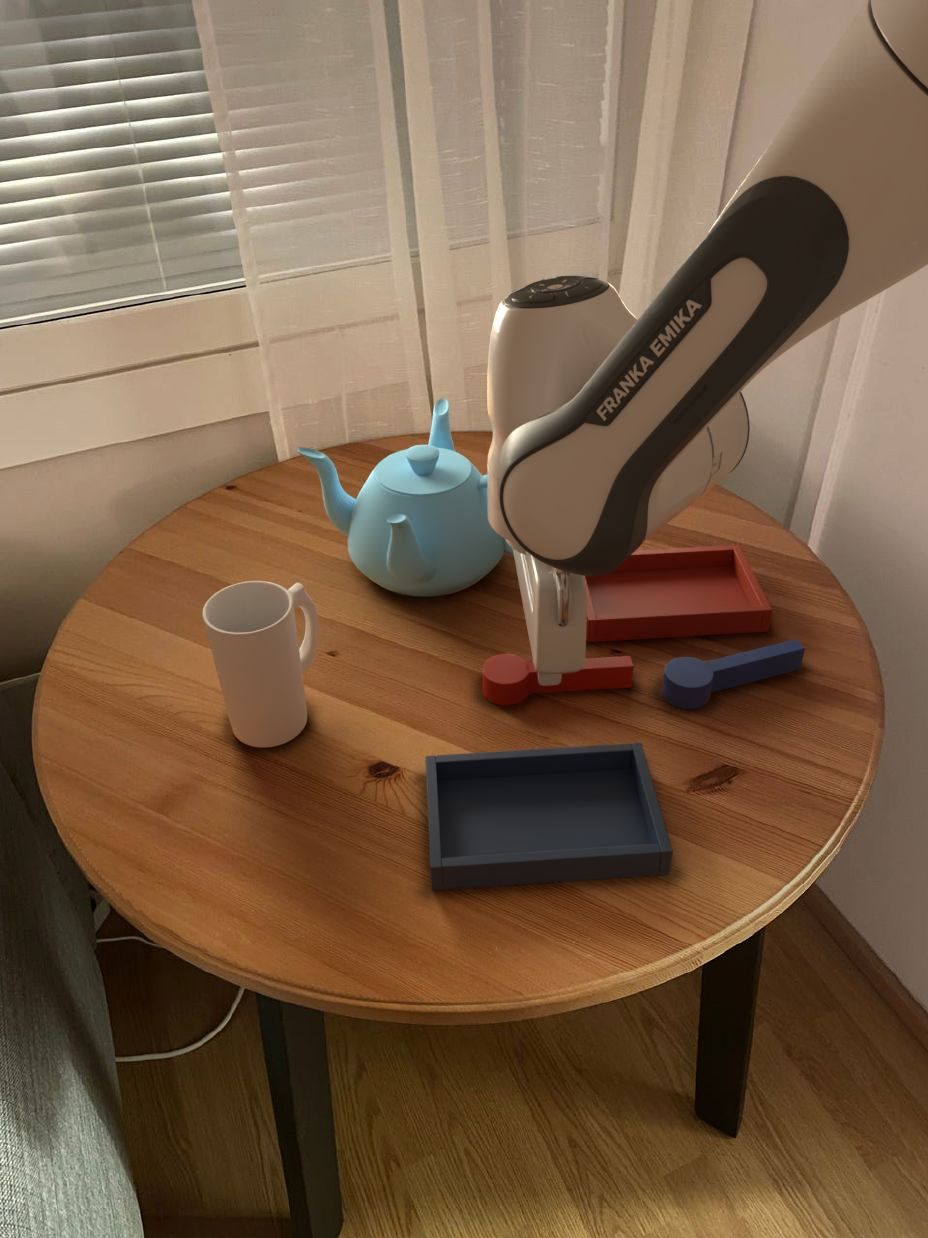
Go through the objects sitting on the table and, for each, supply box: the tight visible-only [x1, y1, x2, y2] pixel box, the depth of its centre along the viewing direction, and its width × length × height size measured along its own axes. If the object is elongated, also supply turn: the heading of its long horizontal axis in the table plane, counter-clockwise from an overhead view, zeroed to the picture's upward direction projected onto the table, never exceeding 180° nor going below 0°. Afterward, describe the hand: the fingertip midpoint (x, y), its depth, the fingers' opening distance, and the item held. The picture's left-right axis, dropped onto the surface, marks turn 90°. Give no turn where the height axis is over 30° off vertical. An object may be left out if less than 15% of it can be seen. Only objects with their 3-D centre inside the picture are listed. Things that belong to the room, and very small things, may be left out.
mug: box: [201, 580, 319, 748], centre depth 81 cm, size 10×7×12 cm, turn 143°
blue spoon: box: [661, 638, 806, 710], centre depth 85 cm, size 13×4×2 cm, turn 109°
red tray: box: [584, 544, 773, 643], centre depth 94 cm, size 17×11×2 cm, turn 94°
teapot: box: [296, 398, 514, 598], centre depth 98 cm, size 17×19×12 cm
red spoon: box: [481, 653, 634, 706], centre depth 85 cm, size 13×4×2 cm, turn 94°
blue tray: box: [424, 742, 673, 892], centre depth 73 cm, size 17×11×2 cm, turn 94°
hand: (541, 641), depth 83 cm, fingers open, 8 cm apart
